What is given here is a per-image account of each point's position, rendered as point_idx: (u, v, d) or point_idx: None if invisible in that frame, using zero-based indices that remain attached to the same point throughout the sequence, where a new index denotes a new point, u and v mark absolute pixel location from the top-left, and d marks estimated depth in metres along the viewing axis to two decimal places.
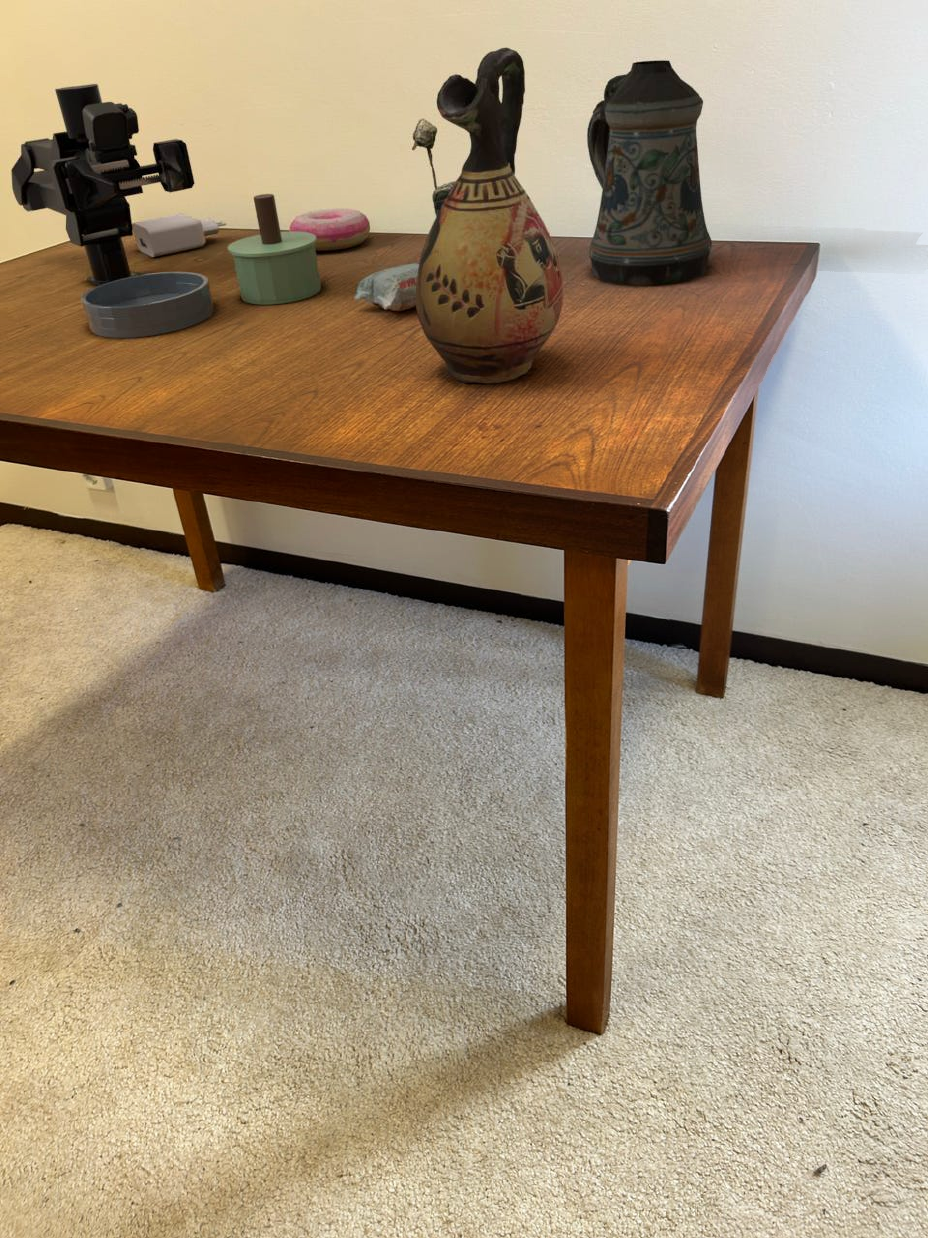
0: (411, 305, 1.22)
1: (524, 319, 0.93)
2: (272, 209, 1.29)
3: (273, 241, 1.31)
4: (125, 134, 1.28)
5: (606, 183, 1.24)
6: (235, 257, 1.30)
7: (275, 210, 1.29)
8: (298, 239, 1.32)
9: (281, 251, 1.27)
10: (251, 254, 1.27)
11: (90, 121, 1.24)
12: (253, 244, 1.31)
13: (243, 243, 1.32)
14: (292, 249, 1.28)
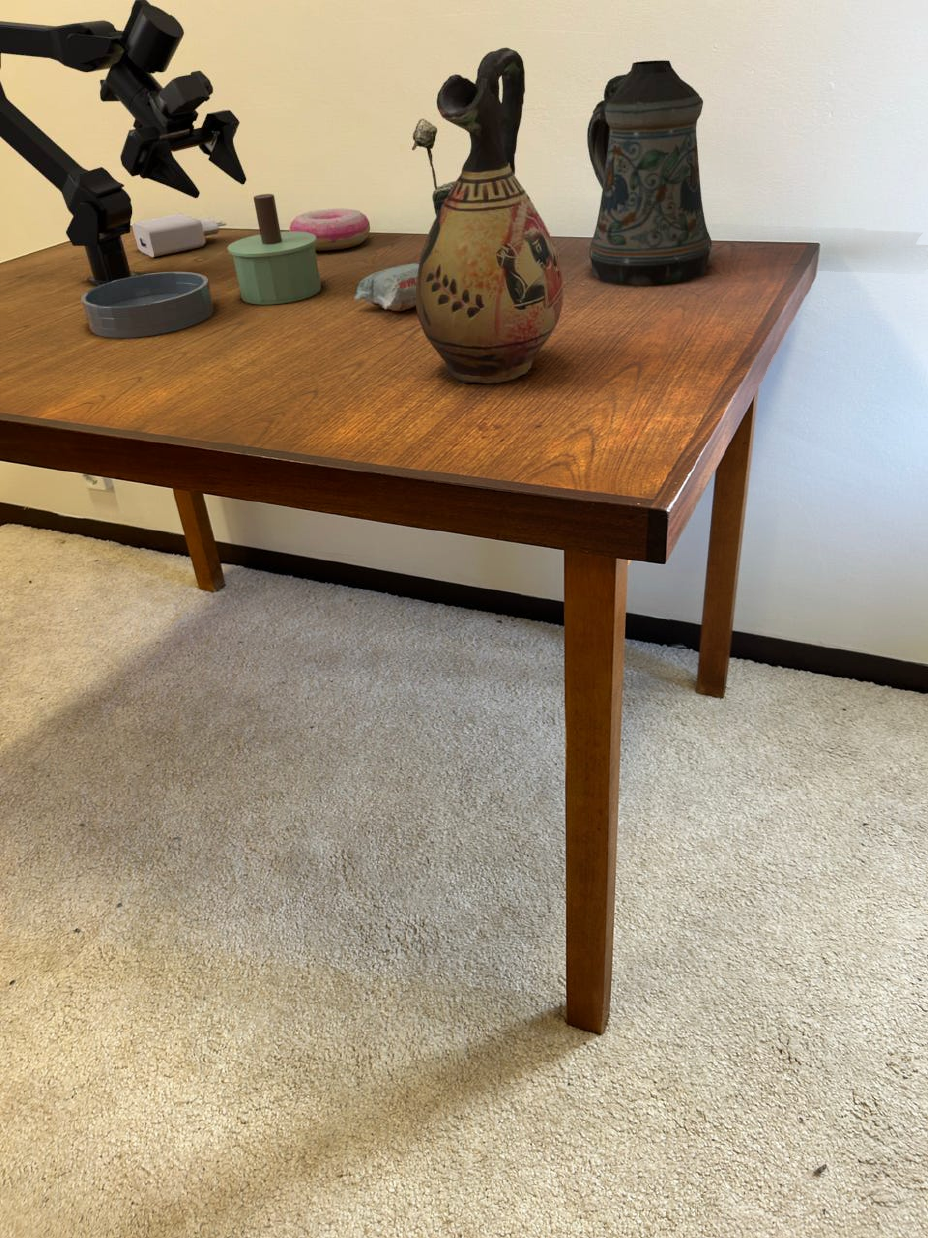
0: (411, 305, 1.22)
1: (524, 319, 0.93)
2: (272, 209, 1.29)
3: (273, 241, 1.31)
4: (196, 106, 1.29)
5: (606, 183, 1.24)
6: (235, 257, 1.30)
7: (275, 210, 1.29)
8: (298, 239, 1.32)
9: (281, 251, 1.27)
10: (251, 254, 1.27)
11: (180, 99, 1.24)
12: (253, 244, 1.31)
13: (243, 243, 1.32)
14: (292, 249, 1.28)
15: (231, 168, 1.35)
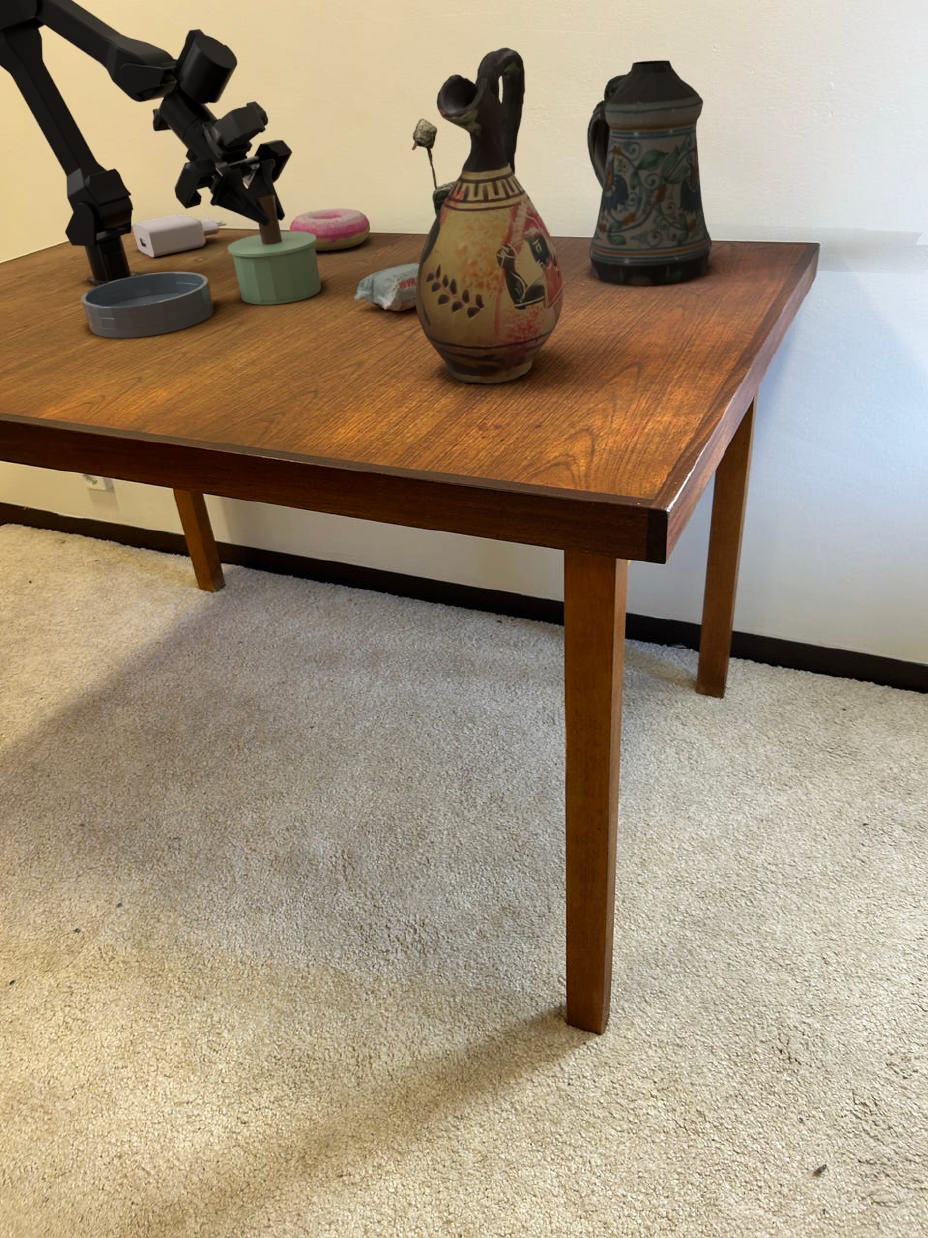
0: (411, 305, 1.22)
1: (524, 319, 0.93)
2: (272, 209, 1.29)
3: (273, 241, 1.31)
4: (251, 137, 1.27)
5: (606, 183, 1.24)
6: (235, 257, 1.30)
7: (275, 210, 1.29)
8: (298, 239, 1.32)
9: (281, 251, 1.27)
10: (251, 254, 1.27)
11: (236, 131, 1.22)
12: (253, 244, 1.31)
13: (243, 243, 1.32)
14: (292, 249, 1.28)
15: None
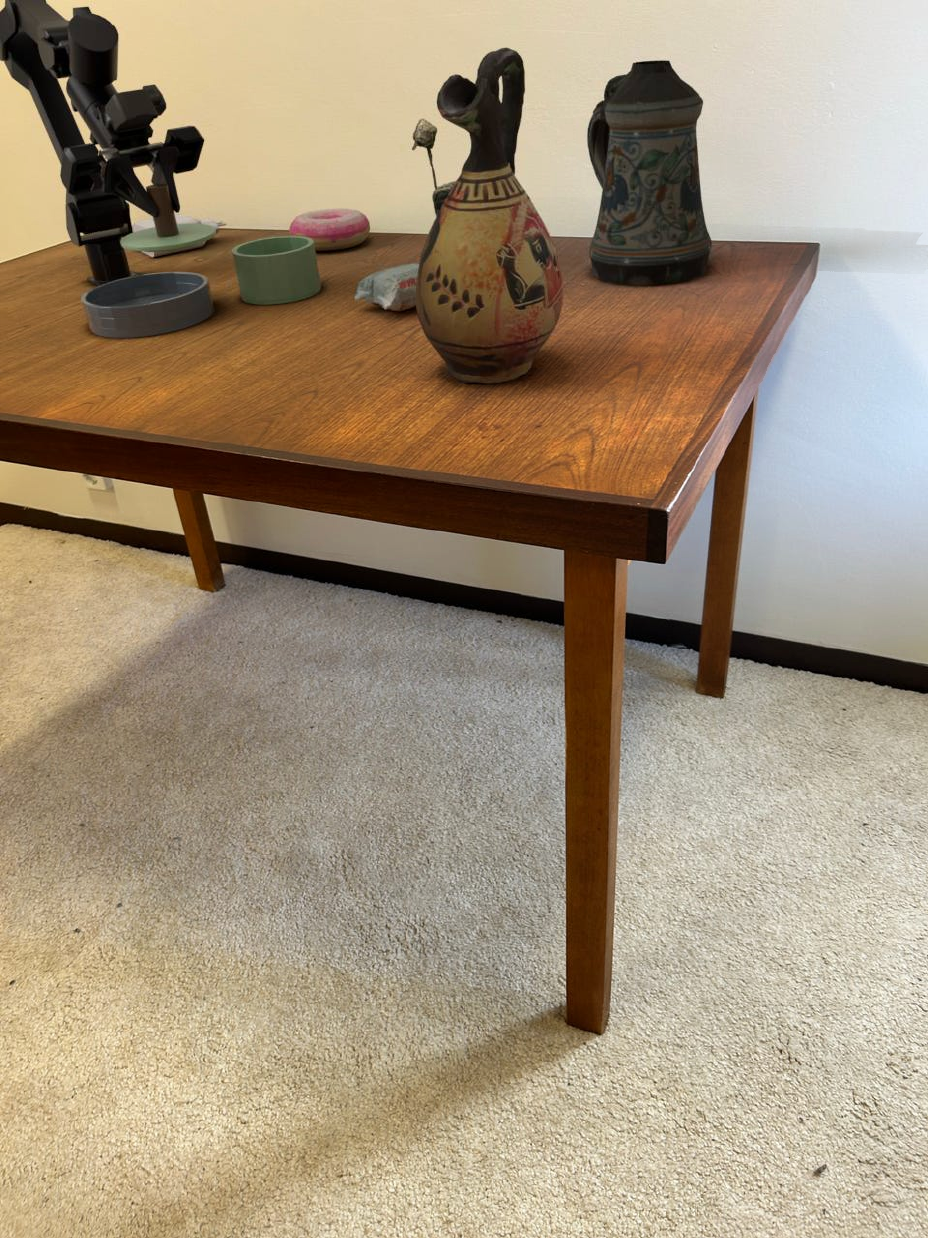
0: (411, 305, 1.22)
1: (524, 319, 0.93)
2: (163, 200, 1.21)
3: (166, 234, 1.23)
4: (148, 122, 1.20)
5: (606, 183, 1.24)
6: (235, 257, 1.30)
7: (168, 202, 1.22)
8: (194, 234, 1.24)
9: (162, 246, 1.20)
10: (133, 247, 1.21)
11: (120, 116, 1.16)
12: (148, 236, 1.25)
13: (142, 234, 1.26)
14: (174, 245, 1.20)
15: None
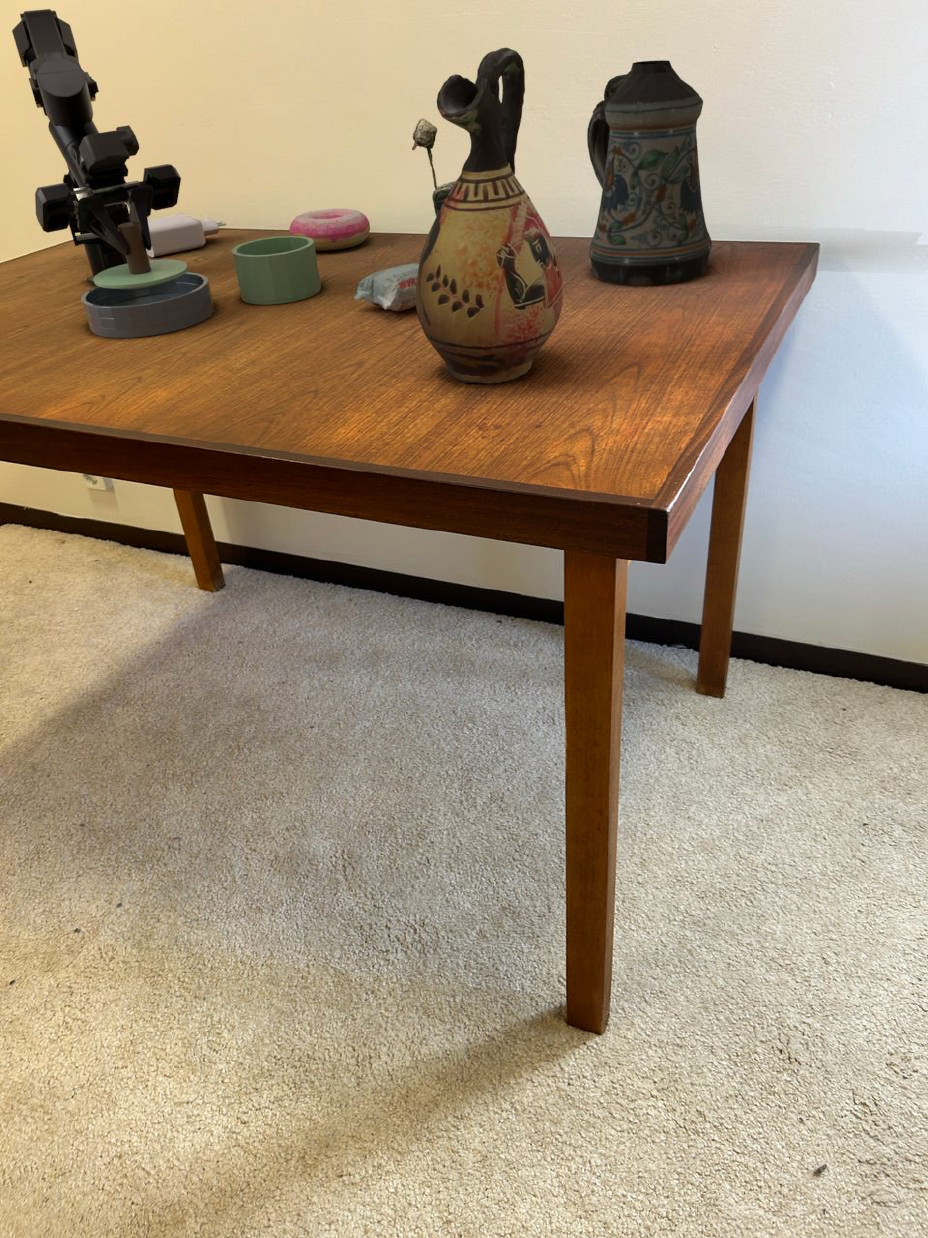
0: (411, 305, 1.22)
1: (524, 319, 0.93)
2: (134, 239, 1.23)
3: (137, 271, 1.25)
4: (121, 162, 1.22)
5: (606, 183, 1.24)
6: (235, 257, 1.30)
7: (139, 240, 1.24)
8: (165, 271, 1.26)
9: (128, 285, 1.22)
10: (102, 284, 1.23)
11: (90, 158, 1.18)
12: (122, 272, 1.27)
13: (117, 269, 1.28)
14: (141, 283, 1.22)
15: None
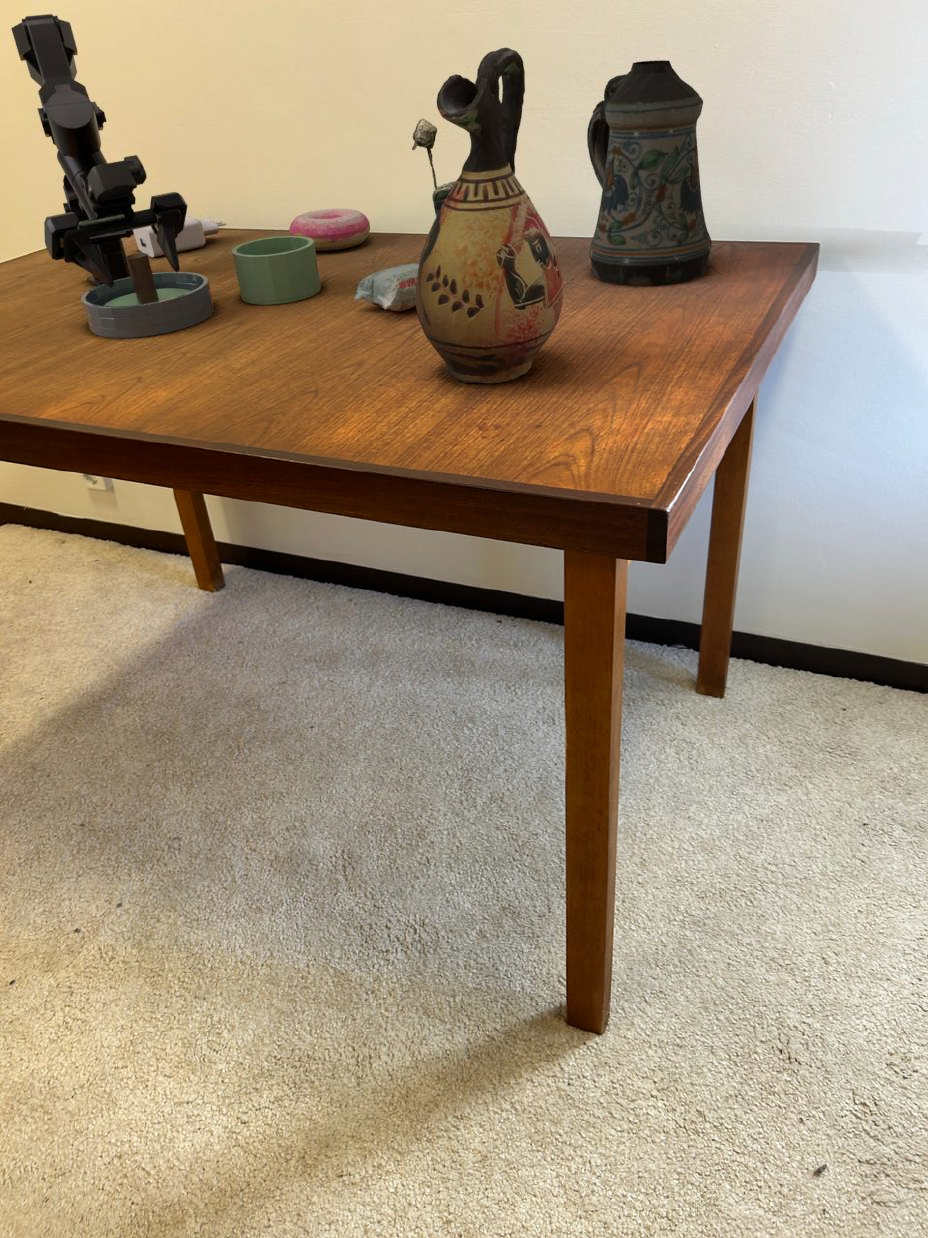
0: (411, 305, 1.22)
1: (524, 319, 0.93)
2: (142, 270, 1.25)
3: (145, 301, 1.27)
4: (129, 191, 1.24)
5: (606, 183, 1.24)
6: (235, 257, 1.30)
7: (147, 271, 1.26)
8: None
9: None
10: None
11: (99, 188, 1.20)
12: (130, 302, 1.29)
13: (125, 299, 1.30)
14: None
15: (168, 254, 1.28)
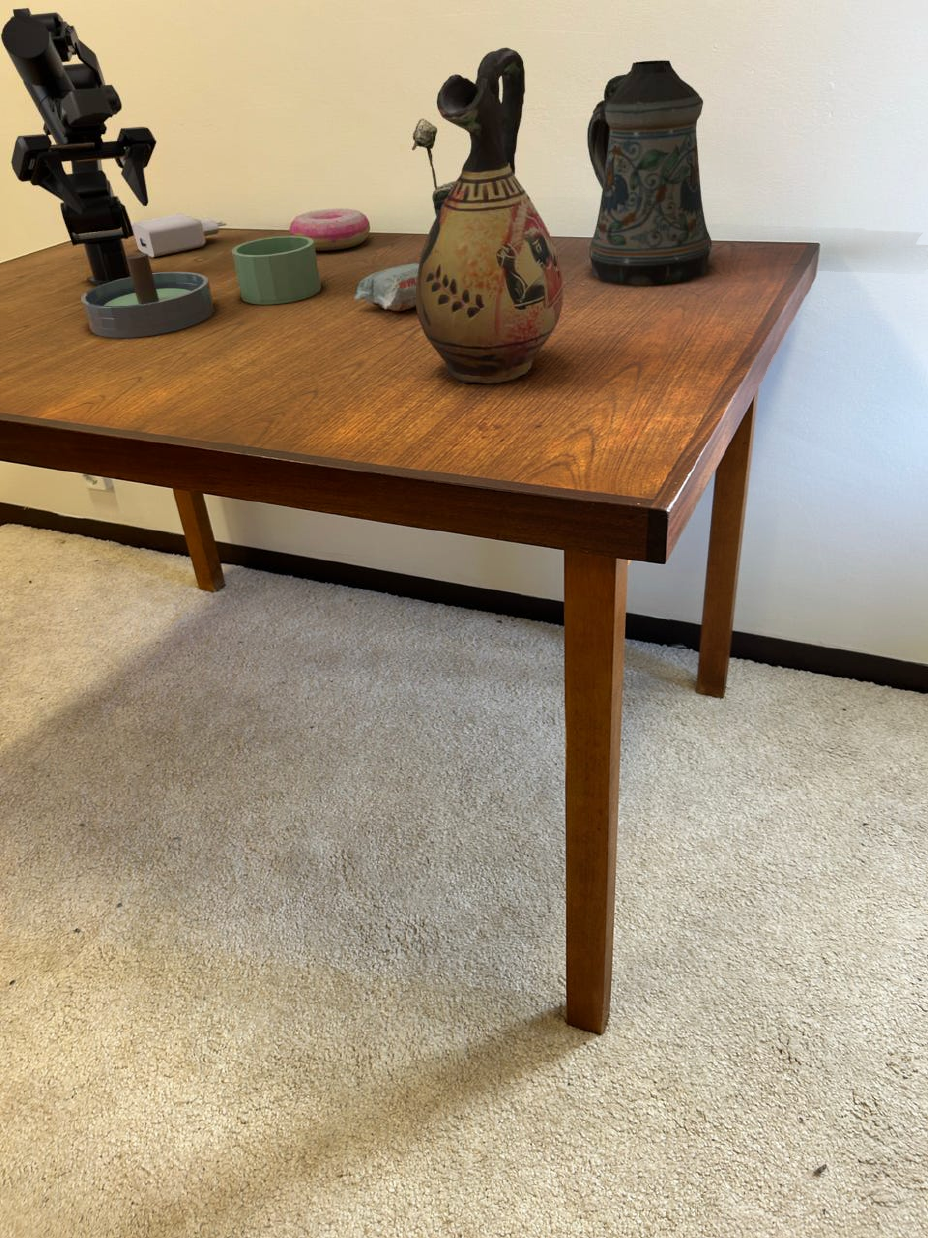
0: (411, 305, 1.22)
1: (524, 319, 0.93)
2: (142, 270, 1.25)
3: (145, 301, 1.27)
4: (102, 120, 1.24)
5: (606, 183, 1.24)
6: (235, 257, 1.30)
7: (147, 271, 1.26)
8: None
9: None
10: None
11: (76, 112, 1.20)
12: (130, 302, 1.29)
13: (125, 299, 1.30)
14: None
15: (136, 187, 1.30)
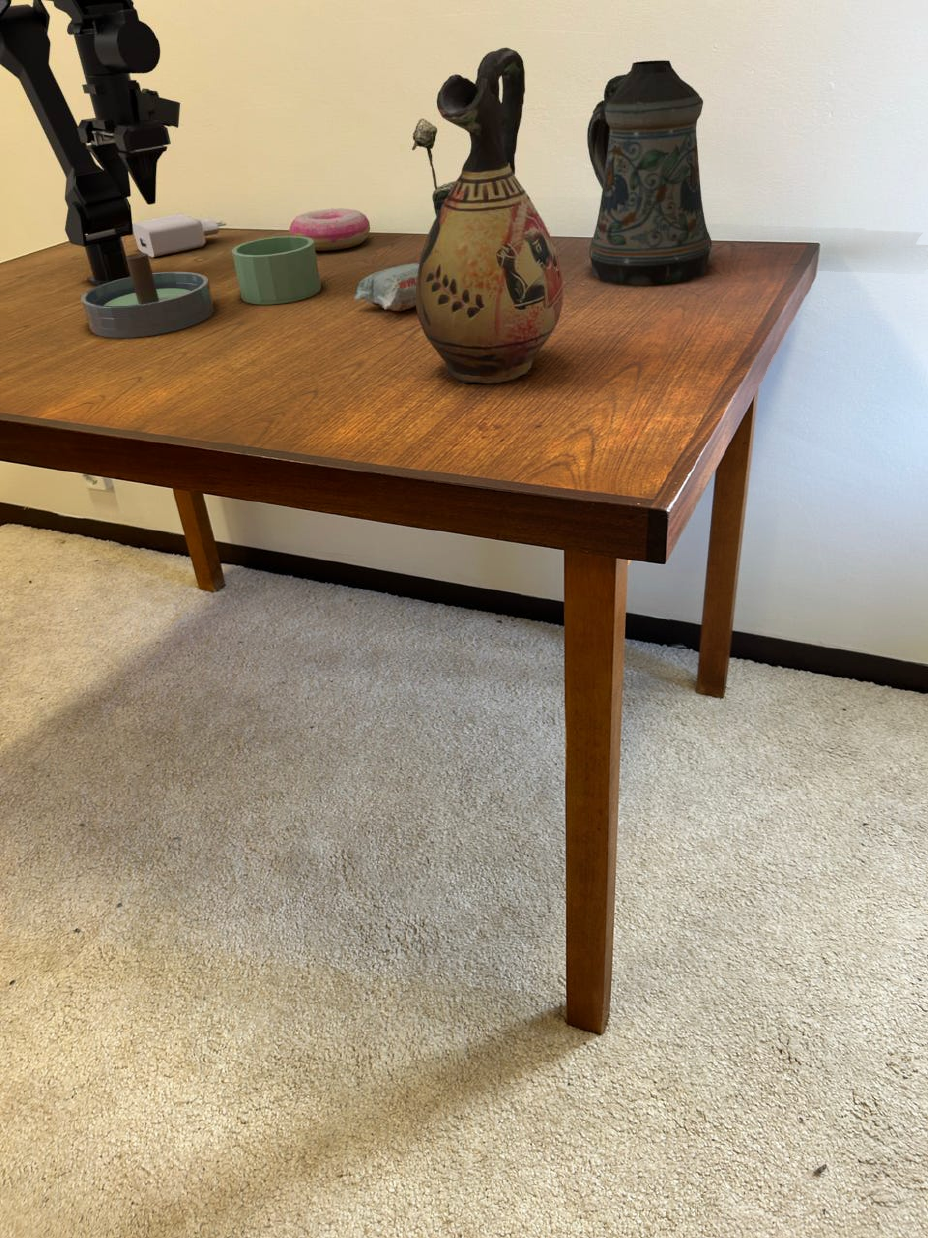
0: (411, 305, 1.22)
1: (524, 319, 0.93)
2: (142, 270, 1.25)
3: (145, 301, 1.27)
4: None
5: (606, 183, 1.24)
6: (235, 257, 1.30)
7: (147, 271, 1.26)
8: None
9: None
10: None
11: (174, 120, 1.29)
12: (130, 302, 1.29)
13: (125, 299, 1.30)
14: None
15: (120, 177, 1.34)
